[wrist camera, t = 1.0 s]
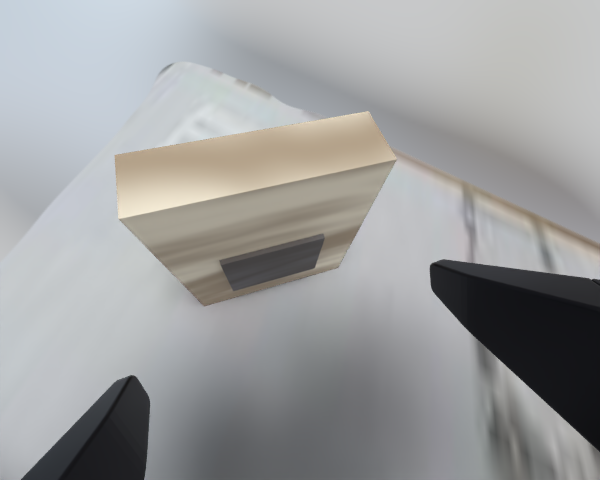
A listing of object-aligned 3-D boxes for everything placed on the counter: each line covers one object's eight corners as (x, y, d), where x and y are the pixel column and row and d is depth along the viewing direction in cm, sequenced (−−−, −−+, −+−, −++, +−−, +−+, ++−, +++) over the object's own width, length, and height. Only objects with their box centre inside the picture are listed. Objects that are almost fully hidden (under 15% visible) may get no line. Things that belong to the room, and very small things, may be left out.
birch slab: (339, 271, 24) (400, 164, 12) (204, 310, 21) (119, 226, 10) (325, 236, 25) (368, 111, 13) (197, 270, 23) (114, 155, 11)
